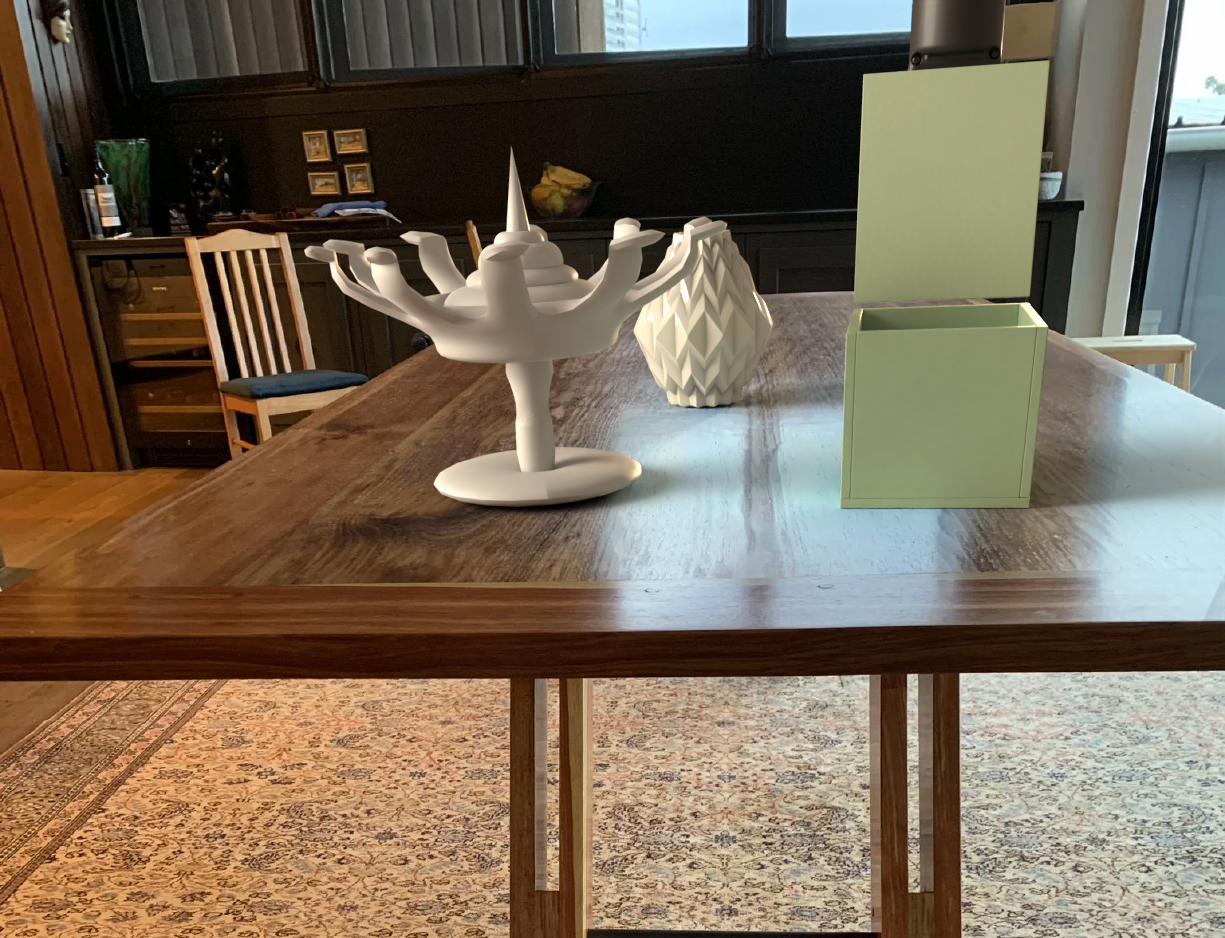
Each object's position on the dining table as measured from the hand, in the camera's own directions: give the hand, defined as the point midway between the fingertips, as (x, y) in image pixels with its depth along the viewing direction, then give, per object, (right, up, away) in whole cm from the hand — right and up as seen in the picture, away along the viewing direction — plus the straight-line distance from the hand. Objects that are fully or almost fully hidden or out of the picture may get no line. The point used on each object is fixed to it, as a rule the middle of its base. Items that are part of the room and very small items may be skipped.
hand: (943, 220), depth 108 cm
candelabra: (-36, -23, +2) cm, 43 cm away
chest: (-2, -25, -4) cm, 25 cm away
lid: (-2, -1, -7) cm, 7 cm away
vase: (-18, -4, +37) cm, 42 cm away
